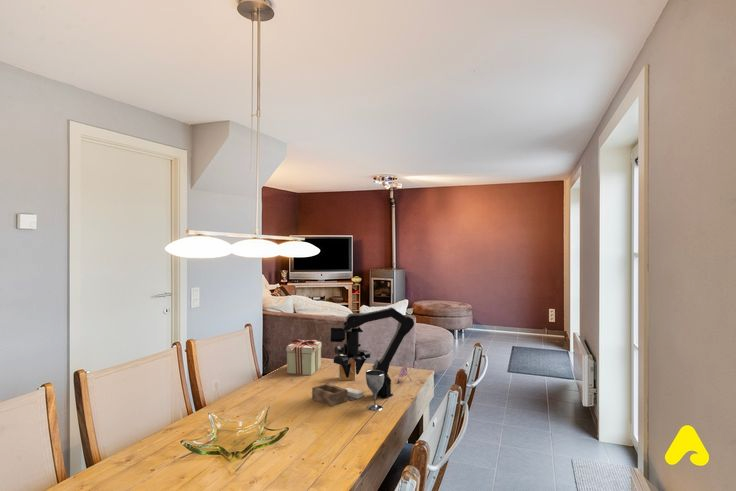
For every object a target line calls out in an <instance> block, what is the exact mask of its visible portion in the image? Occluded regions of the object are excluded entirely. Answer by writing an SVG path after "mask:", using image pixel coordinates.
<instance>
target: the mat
mask: <svg viewBox="0 0 736 491" xmlns="http://www.w3.org/2000/svg"><path fill="white" fill-rule="evenodd" d="M364 397H365V395H364V394H363V396H362V397H360V398H358V399H357V398H354V397H350V396H347V401H351V402H353V401H356V400H359V399H361V398H364Z"/></svg>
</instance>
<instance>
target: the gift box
mask: <svg viewBox="0 0 736 491" xmlns="http://www.w3.org/2000/svg"><path fill="white" fill-rule="evenodd" d="M290 342H292V343H290V344H288V345H287V346H285V348H286V349H285V350H286V351H285V352H286V373H287V374H292V375H299V376H300V375H303V376H312V375H314V373H316V372H318V371H319V370H320V369H321V368H322V362H321V361H322V345H323V344H322V341H318V340H317V339H311V340H310V339H307V340H302V339H298V338H297V339H296V338H295V339H291V340H290Z"/></svg>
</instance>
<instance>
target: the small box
mask: <svg viewBox="0 0 736 491" xmlns="http://www.w3.org/2000/svg"><path fill="white" fill-rule="evenodd" d="M341 355H342V356H346V355H343V354H341ZM350 358H351V357H350ZM349 363H351V368H350V373H349V377H348V378H347V377H346V375H345V372H344V369H343V367H342V365H340V364H338V379H339V381H355V380H356V364H355V360H354V359H351V360H349Z"/></svg>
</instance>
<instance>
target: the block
mask: <svg viewBox="0 0 736 491" xmlns="http://www.w3.org/2000/svg"><path fill="white" fill-rule="evenodd" d="M345 389H346V390H348V391H347V396H350V397H354V398H357V399H356V400H359V399H361V398H360V397H362V396H363V395H364V391H361V390H358V389H354V388H350V387H346V388H345ZM358 398H359V399H358ZM362 398H363V397H362Z"/></svg>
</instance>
